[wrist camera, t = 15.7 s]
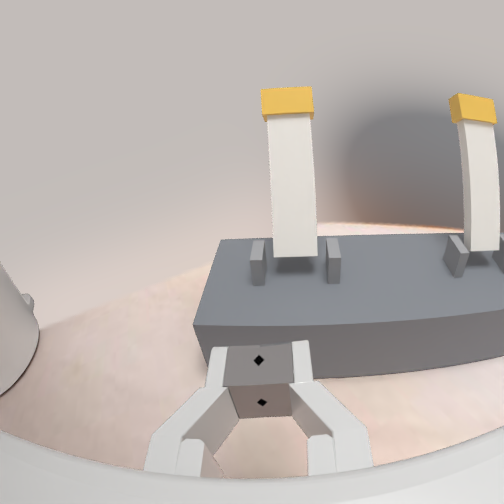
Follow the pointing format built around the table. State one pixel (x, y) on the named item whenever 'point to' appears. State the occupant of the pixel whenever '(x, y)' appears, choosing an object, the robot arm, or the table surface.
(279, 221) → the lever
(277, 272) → the switch box
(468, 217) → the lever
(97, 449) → the table surface
